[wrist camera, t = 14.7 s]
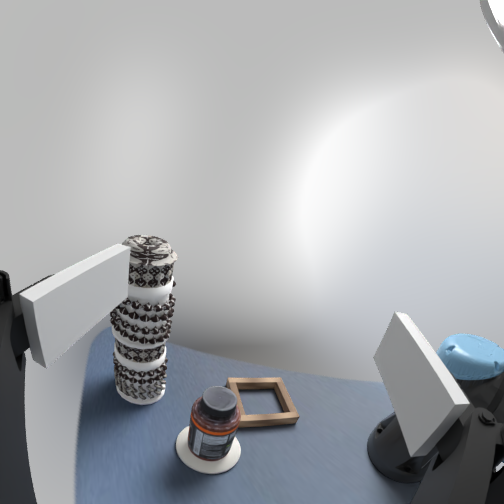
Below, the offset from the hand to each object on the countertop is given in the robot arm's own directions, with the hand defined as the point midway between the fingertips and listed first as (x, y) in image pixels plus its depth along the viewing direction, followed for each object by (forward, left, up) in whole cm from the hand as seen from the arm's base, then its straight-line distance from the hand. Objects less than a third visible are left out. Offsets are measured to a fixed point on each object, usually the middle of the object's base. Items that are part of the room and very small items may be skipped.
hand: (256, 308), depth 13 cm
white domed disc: (-3, -11, -30) cm, 32 cm away
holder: (-13, -20, -30) cm, 38 cm away
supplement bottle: (-3, -11, -29) cm, 32 cm away
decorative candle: (+7, -23, -30) cm, 38 cm away
